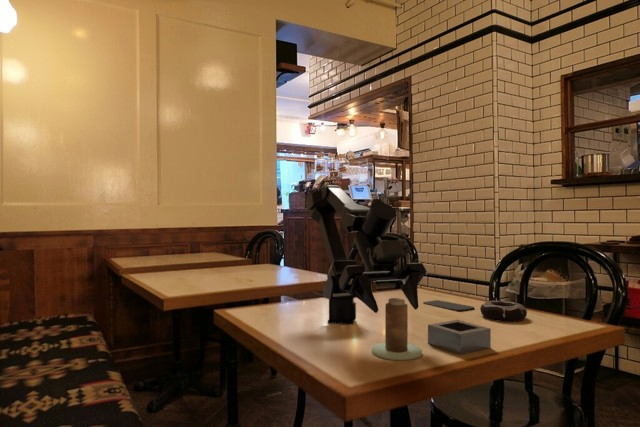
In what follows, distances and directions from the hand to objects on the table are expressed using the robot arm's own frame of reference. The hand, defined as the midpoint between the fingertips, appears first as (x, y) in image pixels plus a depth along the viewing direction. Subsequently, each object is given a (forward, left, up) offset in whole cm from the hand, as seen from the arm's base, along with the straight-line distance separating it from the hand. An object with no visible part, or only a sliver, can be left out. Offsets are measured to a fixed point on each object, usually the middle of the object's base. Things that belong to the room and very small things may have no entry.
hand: (397, 310), depth 87 cm
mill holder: (+13, +7, -9) cm, 17 cm away
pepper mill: (0, 0, -8) cm, 8 cm away
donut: (+29, +36, -9) cm, 47 cm away
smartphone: (+16, +49, -9) cm, 52 cm away
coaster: (0, 0, -9) cm, 9 cm away
